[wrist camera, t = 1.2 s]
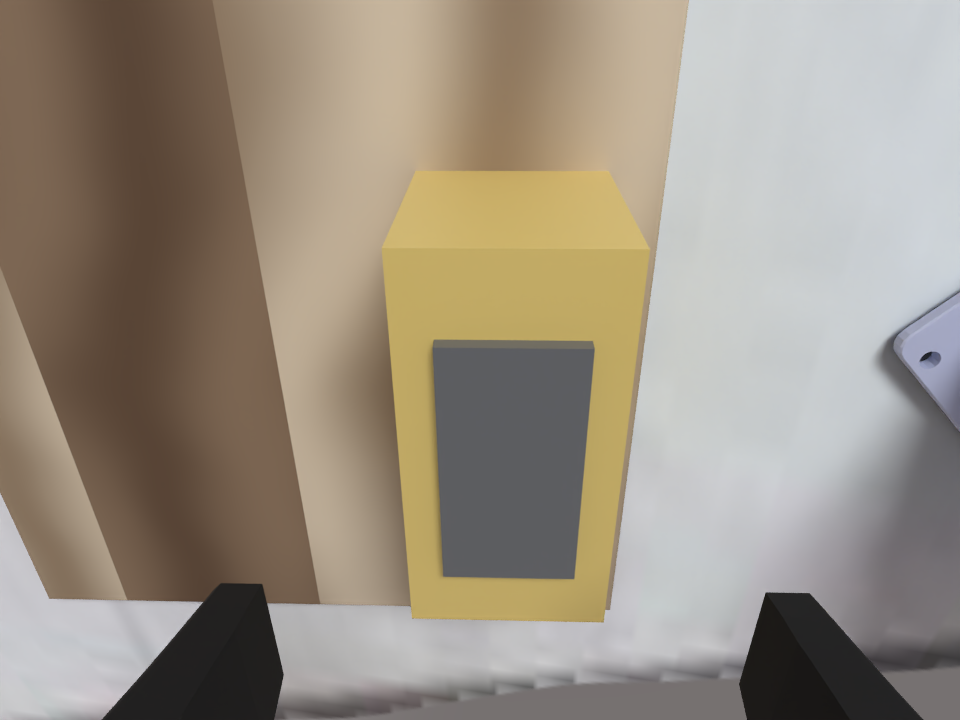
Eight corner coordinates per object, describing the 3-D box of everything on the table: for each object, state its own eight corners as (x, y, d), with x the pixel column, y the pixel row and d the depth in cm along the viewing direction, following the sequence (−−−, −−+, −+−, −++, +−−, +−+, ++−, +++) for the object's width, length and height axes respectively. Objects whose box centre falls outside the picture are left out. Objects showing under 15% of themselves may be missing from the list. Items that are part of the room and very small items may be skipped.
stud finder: (608, 171, 15) (653, 256, 11) (581, 480, 20) (605, 633, 15) (415, 170, 16) (378, 254, 11) (431, 478, 20) (410, 629, 15)
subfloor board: (697, -122, 13) (704, -126, 13) (607, 595, 23) (609, 609, 23) (-252, -112, 14) (-281, -115, 13) (59, 584, 24) (49, 598, 23)
